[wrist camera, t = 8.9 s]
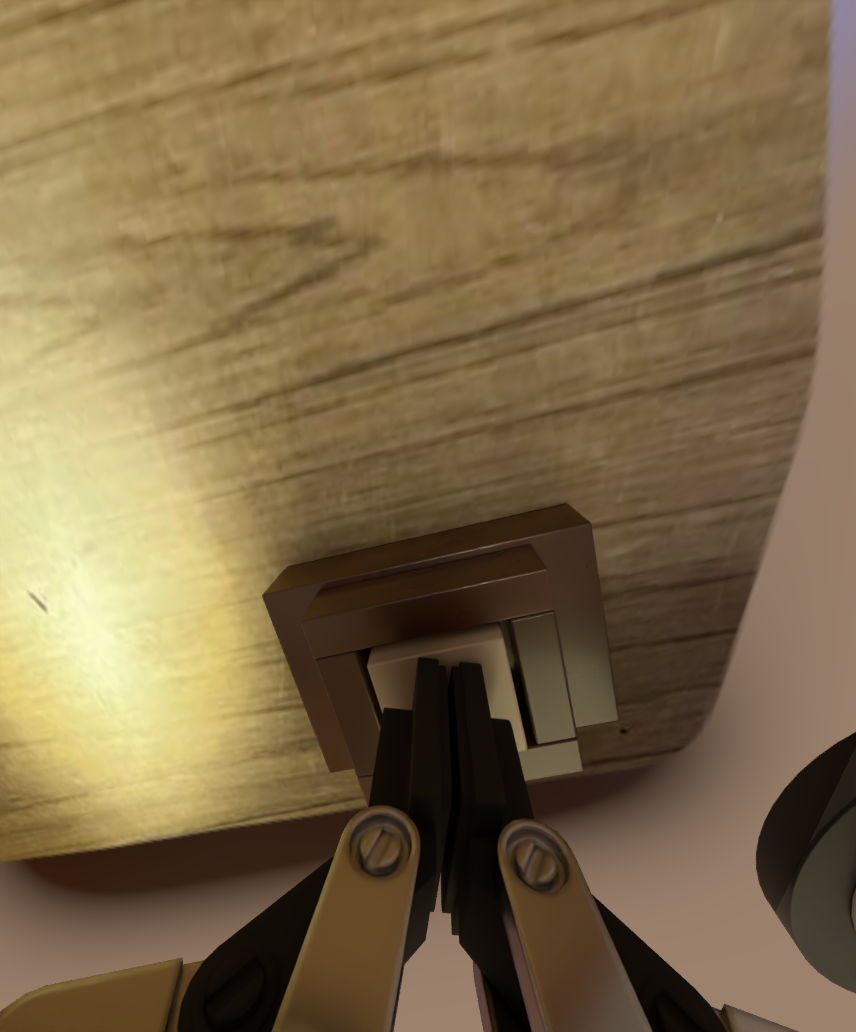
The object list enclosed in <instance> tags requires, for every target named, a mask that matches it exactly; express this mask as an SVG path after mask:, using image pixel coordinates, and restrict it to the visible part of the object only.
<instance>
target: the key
mask: <svg viewBox="0 0 856 1032" xmlns="http://www.w3.org/2000/svg"><path fill="white" fill-rule="evenodd" d="M418 657H421V658H431V659H438V660H439V665H444V666H446V675H447V695H448V688H449V681H450V674H451V668H452V666H454V667H459V664H460V662H471V663H480V664H481V666H482V671H483V676H484V682H485V687H486V693H487V698H488V704H489V709H490V715H491V718H497V719H507V720H509V721H510V722H511V725H512V729H513V733H514V737H515V741H516V745H517V750H518V752H520V751H526V750H527V742H526V738H525V733H524V729H523V724H522V720H521V715H520V711H519V706H518V702H517V697H516V692H515V688H514V683H513V679H512V674H511V670H510V665H509V661H508V656H507V652H506V647H505V643H504V638H503V635H502V631H501V628H500V624H499V621H497V622H492V623H487V624H483V625H478V626H473V627H468V628H463V629H458V630H453V631H449V632H444V633H439V634H434V635H429V636H424V637H419V638H415V639H410V640H405V641H400V642H395V643H390V644H386V645H381V646H376V647H372V649H371V653H370V657H369V660H368V664H367V668H368V671H369V674H370V677H371V680H372V683H373V686H374V689H375V692H376V695H377V698H378V701H379V704H380V708H381V711H382V714H383V709H384V707H385V708H395V709H406V710H412V704H413V696H414V688H415V679H416V671H417V662H418Z"/></svg>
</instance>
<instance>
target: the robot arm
mask: <svg viewBox="0 0 856 1032" xmlns="http://www.w3.org/2000/svg"><path fill="white" fill-rule="evenodd" d="M440 873H441V905H442V912H443V913H451V922H452V923H451V924H452V935H459V943H460V945H461V946H462V947H463V948H464V950H465V951H466V952H467V954H468V955H469V956H470V957H471V959H472V960H473V972H474V980H475V987H476V992H477V997H478V1003H479V1009H480V1014H481V1019H482V1025H483V1031H484V1032H798V1031H795V1030H792V1029H790V1028H787V1027H785V1026H782V1025H779V1024H777V1023H774V1022H771V1021H769V1020H766V1019H764V1018H761V1017H758V1016H756V1015H753V1014H750V1013H748V1012H745V1011H742V1010H739V1009H737V1008H734V1007H731V1006H729V1005H726V1004H724V1006H723V1008H722V1010H719V1009H716V1008H714V1007H711V1006H710V1004H709V1003H708V1002H707V1001H706V1000H705V999H704V998H703V997H702V996H701V995H700V994H699V993H698V991H697V990H696V989H695V988H694V987H693V986H692V985H690V984H689V983H688V982H687V981H686V980H685V979H684V978H683V977H682V976H681V975H680V974H678V973H677V972H676V971H675V970H674V969H673V968H672V967H671V966H670V965H668V963H666V962H665V961H664V960H663V959H662V958H661V957H660V956H659V955H658V954H657V953H655V952H654V951H653V950H652V949H651V948H650V947H649V946H648V945H647V944H646V943H644V942H643V941H642V940H641V939H640V938H639V937H638V936H637V935H636V934H635V933H634V932H633V931H631V930H630V929H629V928H628V927H627V926H626V925H625V924H624V923H623V922H622V921H620V920H619V919H618V918H617V917H616V916H615V915H614V914H613V913H612V912H611V911H609V910H608V909H607V908H606V907H605V906H604V905H603V904H602V903H601V902H600V901H599V900H597V899H596V898H595V897H594V896H593V895H592V894H591V892H590V889H589V887H588V885H587V883H586V881H585V878H584V876H583V874H582V872H581V869H580V867H579V865H578V862H577V860H576V858H575V856H574V854H573V852H572V850H571V848H570V847H569V845H568V843H567V842H566V841H565V840H564V839H563V838H562V837H561V835H560V834H559V833H558V832H557V831H555V830H554V829H552V828H551V827H549V826H548V825H547V824H545V823H542V822H539V821H537V820H534V817H533V812H532V809H531V804H530V800H529V795H528V792H527V788H526V783H525V779H524V775H523V770H522V766H521V762H520V758H519V754H518V750H517V745H516V741H515V737H514V733H513V729H512V725H511V722H510V721H509V720H507V719H497V718H491V715H490V709H489V704H488V698H487V693H486V687H485V682H484V676H483V671H482V666H481V664H480V663H471V662H460V664H459V667H454V666H452V668H451V674H450V681H449V688H448V695H447V675H446V666H444V665H439V660H438V659H431V658H421V657H418V662H417V671H416V679H415V688H414V696H413V704H412V710H406V709H395V708H385V707H384V709H383V715H382V722H381V728H380V735H379V741H378V747H377V754H376V760H375V767H374V773H373V779H372V786H371V792H370V799H369V805H368V808H366V809H364V810H362V811H360V812H359V813H357V814H356V815H355V816H354V817H353V818H352V819H351V820H350V821H349V823H348V824H347V826H346V828H345V830H344V832H343V834H342V837H341V840H340V842H339V845H338V848H337V851H336V853H335V855H334V856H333V857H332V858H330V859H329V860H328V861H327V862H325V863H324V864H323V865H321V866H320V867H319V868H318V869H316V870H315V871H314V872H313V873H311V874H310V875H309V876H307V877H306V878H305V879H304V880H303V881H301V882H300V883H299V884H297V885H296V886H295V887H294V888H292V889H291V890H290V891H288V892H287V893H286V894H285V895H283V896H282V897H281V898H280V899H278V900H277V901H276V902H275V903H273V904H272V905H271V906H269V907H268V908H267V909H266V910H265V911H263V912H262V913H261V914H260V915H258V916H257V917H256V918H254V919H253V920H252V921H251V922H249V923H248V924H247V925H245V926H244V927H243V928H242V929H240V930H239V931H238V932H237V933H235V934H234V935H233V936H232V937H230V938H229V939H228V940H226V941H225V942H224V943H223V944H221V945H220V946H219V947H218V948H217V949H216V950H215V951H214V952H213V953H212V954H211V955H209V956H208V957H207V959H205V960H203V961H199V962H193V963H189V964H184V965H183V959H182V958H177V959H173V960H168V961H163V962H158V963H154V964H148V965H143V966H138V967H133V968H129V969H124V970H119V971H114V972H109V973H104V974H99V975H95V976H90V977H85V978H80V979H75V980H70V981H65V982H60V983H55V984H51V985H46V986H44V987H41V988H39V989H36V990H34V991H31V992H28V993H26V994H24V995H23V996H21V997H20V998H19V999H17V1000H16V1001H14V1002H13V1003H11V1004H10V1005H8V1006H7V1007H6V1008H4V1009H3V1010H2V1011H1V1012H0V1032H393V1031H394V1025H395V1019H396V1013H397V1007H398V1001H399V994H400V989H401V983H402V976H403V970H404V964H405V963H406V962H407V961H408V960H409V959H410V957H411V956H412V955H413V954H414V953H415V952H416V950H417V949H418V948H419V947H420V946H421V945H422V944H423V942H424V941H425V939H426V933H427V927H428V921H429V914H430V912H434V909H435V903H436V897H437V891H438V885H439V879H440ZM851 916H852V920H853V925H854V929H855V931H856V888H855V891H854V894H853V896H852V912H851Z"/></svg>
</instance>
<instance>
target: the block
mask: <svg viewBox="0 0 856 1032" xmlns="http://www.w3.org/2000/svg"><path fill="white" fill-rule="evenodd" d="M262 597H263V600H264V602H265V605H266V608H267V610H268V613H269V615H270V618H271V621H272V623H273V626H274V628H275V631H276V634H277V636H278V639H279V641H280V644H281V647H282V649H283V652H284V654H285V657H286V660H287V662H288V665H289V667H290V670H291V672H292V675H293V678H294V680H295V683H296V685H297V688H298V691H299V693H300V696H301V698H302V701H303V704H304V706H305V709H306V711H307V714H308V717H309V719H310V722H311V724H312V727H313V730H314V732H315V735H316V737H317V740H318V743H319V745H320V748H321V750H322V753H323V755H324V758H325V761H326V763H327V766H328V768H329V771H330V772H331V773H332V772H338V771H343V770H349V769H355V772H356V774H357V776H358V781H359V784H360V786H361V789H362V792H363V795H364V797H365V800H366V803H367V806H368V805H369V799H370V792H371V786H372V779H373V773H374V767H375V760H376V754H377V747H378V741H379V735H380V728H381V722H382V715H383V714H382V711H381V708H380V704H379V701H378V698H377V695H376V692H375V689H374V686H373V683H372V680H371V677H370V674H369V671H368V668H367V664H368V660H369V657H370V653H371V649H372V647H376V646H381V645H386V644H390V643H395V642H400V641H405V640H410V639H415V638H419V637H424V636H429V635H434V634H439V633H444V632H449V631H453V630H458V629H463V628H468V627H473V626H478V625H483V624H487V623H492V622H497V621H499V624H500V628H501V631H502V635H503V638H504V643H505V647H506V652H507V656H508V661H509V665H510V670H511V674H512V679H513V683H514V688H515V692H516V697H517V702H518V706H519V711H520V715H521V720H522V724H523V729H524V733H525V738H526V742H527V750H526V751H520V752H518V754H519V758H520V762H521V766H522V770H523V775H524V779H525V781H529V780H534V779H540V778H546V777H552V776H558V775H563V774H569V773H575V772H581V771H583V770H584V768H583V762H582V757H581V751H580V746H579V740H578V737H577V730H576V728H579V727H585V726H590V725H596V724H601V723H607V722H612V721H618V720H619V713H618V706H617V699H616V692H615V685H614V679H613V672H612V665H611V658H610V651H609V644H608V637H607V630H606V623H605V617H604V610H603V603H602V596H601V589H600V582H599V575H598V568H597V561H596V555H595V548H594V541H593V534H592V527H591V523H590V522H589V521H588V520H587V519H586V518H584V517H583V516H582V515H581V514H579V513H578V512H577V511H576V510H575V509H573V508H572V507H571V506H570V505H568V504H564V505H560V506H556V507H551V508H547V509H542V510H538V511H533V512H529V513H525V514H520V515H516V516H511V517H507V518H503V519H498V520H494V521H489V522H485V523H480V524H476V525H472V526H467V527H463V528H458V529H454V530H449V531H445V532H441V533H436V534H432V535H427V536H423V537H419V538H414V539H410V540H405V541H401V542H396V543H392V544H388V545H383V546H379V547H374V548H370V549H366V550H361V551H357V552H352V553H348V554H343V555H339V556H335V557H330V558H326V559H321V560H317V561H312V562H308V563H304V564H299V565H295V566H290V567H287V568H285V570H284V571H283V572H282V573H281V574H280V575H279V576H278V578H277V579H276V580H275V581H274V582H273V583H272V584H271V586H270V587H269V588H268V589H267V590H266V591H265V592H264V593H263V595H262Z"/></svg>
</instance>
